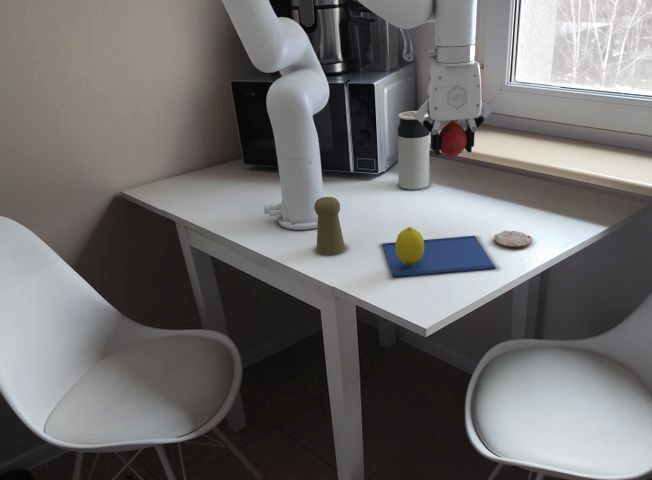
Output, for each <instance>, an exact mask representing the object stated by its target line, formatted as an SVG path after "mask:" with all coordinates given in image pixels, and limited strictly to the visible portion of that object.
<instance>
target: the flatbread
mask: <svg viewBox="0 0 652 480" xmlns="http://www.w3.org/2000/svg"><path fill="white" fill-rule="evenodd" d="M493 237H494V239H493V240H494V241H495V242H496V243H498V244H500V245H502V246H506V247H511V248H517V247H519V248H520V247H525V246H528V245H530V244H531V243H532V242H533V238H532V236H531V235H529V234H526V233H524V232H521V231H517V230H503V231H501V232H498V233H496V234H494V236H493Z"/></svg>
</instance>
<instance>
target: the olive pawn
mask: <svg viewBox="0 0 652 480" xmlns="http://www.w3.org/2000/svg"><path fill="white" fill-rule="evenodd" d="M314 209H315V212H316V214H317V215H318V226H317V228H316V233H317V234H316V252H317V253H318V254H320V255H323V256H333V255H334V256H335V255H339V254H342V253H343V252H344V251H345V250H346V246H345V241H344V236H343V232H342V227H341V223H340V218H339V213H340V211H341V204H340V201H339V200H338V199H337V198H336V197H333V196H324V197H322V198H319V199H318V200H316V202H315V205H314Z"/></svg>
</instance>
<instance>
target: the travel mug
mask: <svg viewBox="0 0 652 480" xmlns="http://www.w3.org/2000/svg"><path fill="white" fill-rule="evenodd" d="M417 111H418V110H409V111H403V112H401V113H398V114H397V115H398V118H399V125H398V126H397V159H398V163H397V164H398V186H399V187H400V188H401V189H405V190H411V191H416V190H422V189H425V188H427V187H428V186H429V185H430V131H429V130H428V129H427V128H426V127H424V125H422V124H421V123H420V122H419V121H418V120H417V119H416V118H415V116H414V115H415V113H416V112H417ZM424 117H425V118H426V119H427V120H428V117H429V115H428V113H427V112H426V113H425V115H424Z"/></svg>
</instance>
